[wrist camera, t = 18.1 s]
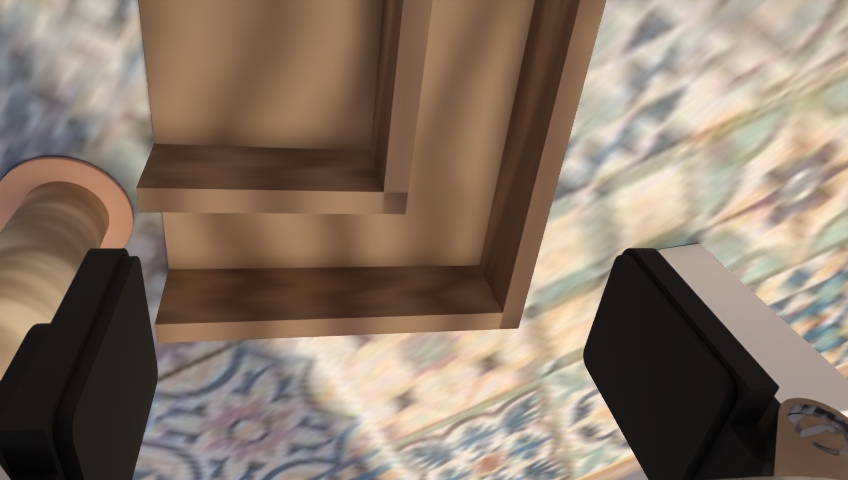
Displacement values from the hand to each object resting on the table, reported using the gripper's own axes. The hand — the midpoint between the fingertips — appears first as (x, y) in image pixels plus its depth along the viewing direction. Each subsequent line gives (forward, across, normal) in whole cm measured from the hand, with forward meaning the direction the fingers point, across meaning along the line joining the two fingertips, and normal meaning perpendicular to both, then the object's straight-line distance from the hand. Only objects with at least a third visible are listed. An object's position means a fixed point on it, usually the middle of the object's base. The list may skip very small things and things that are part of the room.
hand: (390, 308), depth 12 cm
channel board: (+29, -2, +8) cm, 30 cm away
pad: (+28, +16, +14) cm, 36 cm away
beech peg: (+28, +16, +14) cm, 35 cm away
